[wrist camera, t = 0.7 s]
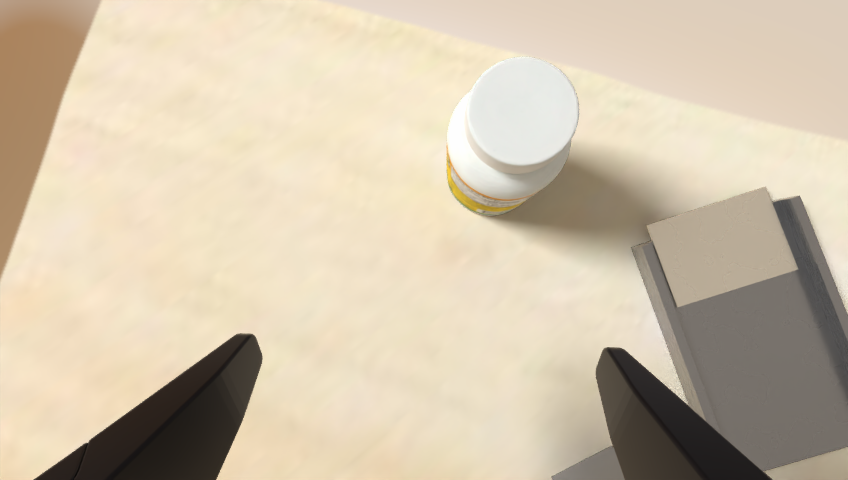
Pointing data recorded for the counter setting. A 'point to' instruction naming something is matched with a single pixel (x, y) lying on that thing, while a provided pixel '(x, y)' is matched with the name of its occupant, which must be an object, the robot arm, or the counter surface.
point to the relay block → (594, 468)
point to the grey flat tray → (753, 324)
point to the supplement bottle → (510, 135)
